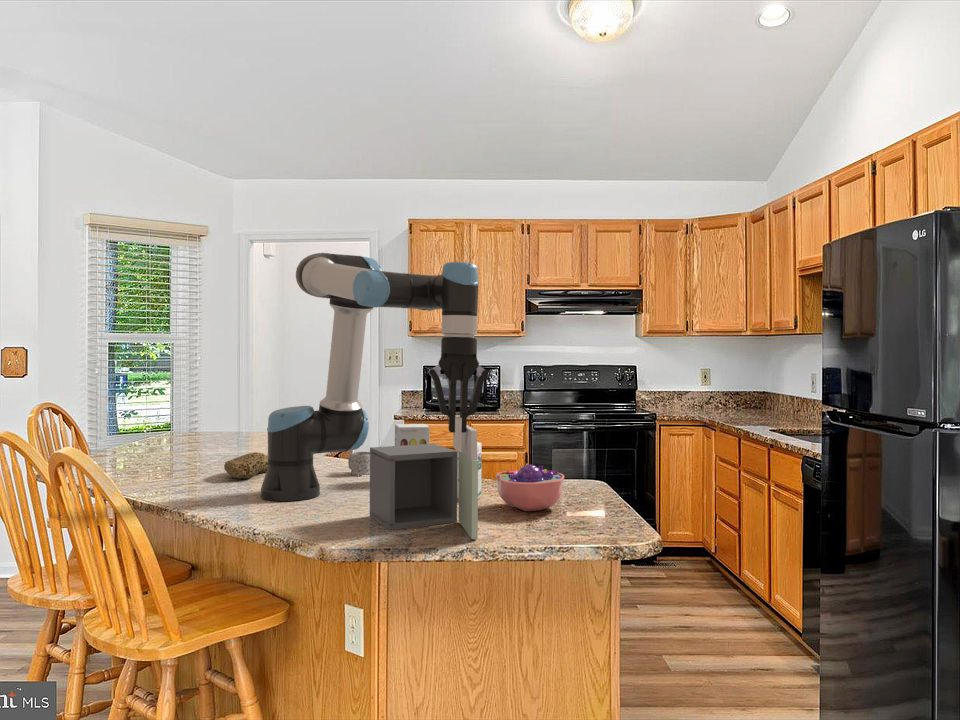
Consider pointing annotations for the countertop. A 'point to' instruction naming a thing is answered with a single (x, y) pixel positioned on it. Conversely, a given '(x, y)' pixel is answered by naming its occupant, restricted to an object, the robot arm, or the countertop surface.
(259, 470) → the sponge
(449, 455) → the box
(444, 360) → the robot arm
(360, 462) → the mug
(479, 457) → the syrup box
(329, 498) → the countertop surface
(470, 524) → the side door
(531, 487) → the cell model
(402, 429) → the supplement box
